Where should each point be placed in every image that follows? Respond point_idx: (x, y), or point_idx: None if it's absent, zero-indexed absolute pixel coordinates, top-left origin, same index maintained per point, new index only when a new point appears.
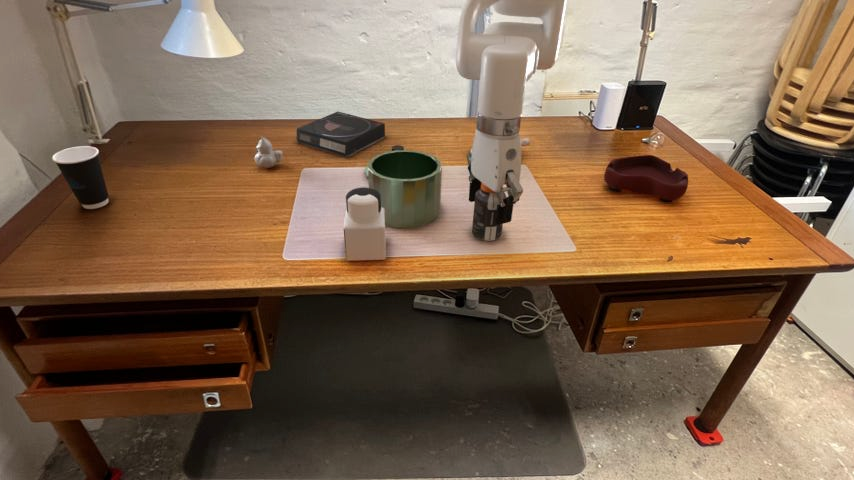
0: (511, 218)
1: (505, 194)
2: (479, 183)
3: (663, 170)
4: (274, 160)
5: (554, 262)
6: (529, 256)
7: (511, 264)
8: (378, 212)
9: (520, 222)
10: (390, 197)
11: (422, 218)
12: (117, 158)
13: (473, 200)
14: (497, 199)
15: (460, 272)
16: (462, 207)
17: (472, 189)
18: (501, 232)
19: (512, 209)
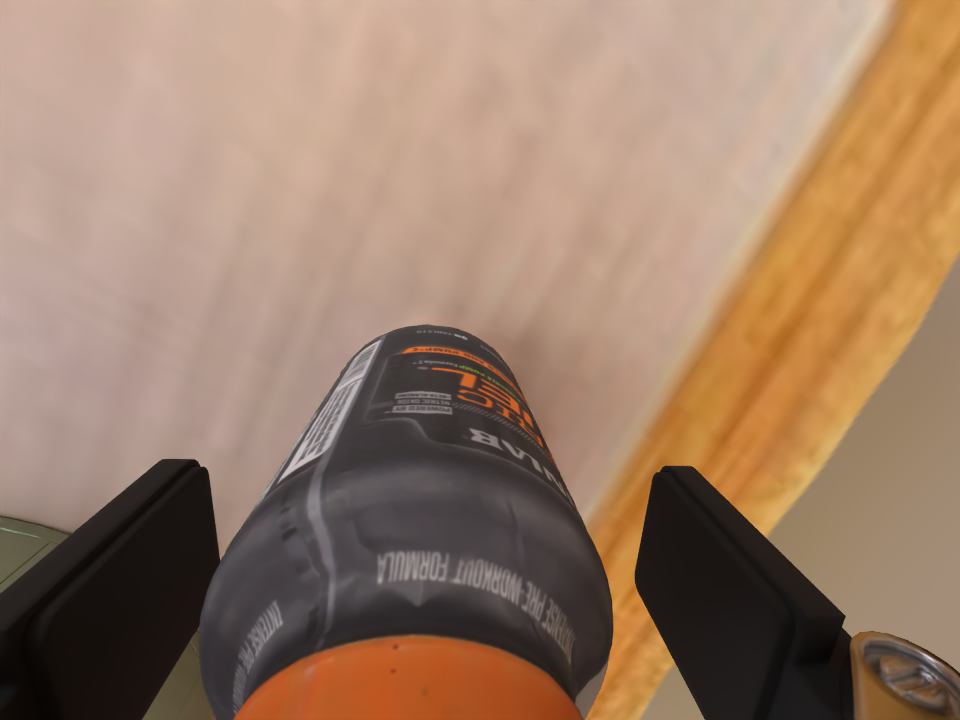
0: (702, 476)
1: (516, 514)
2: (65, 712)
3: None
4: None
5: (871, 233)
6: (743, 325)
7: (734, 451)
8: None
9: (399, 102)
10: None
11: (186, 717)
12: None
13: (214, 571)
14: (599, 685)
15: (643, 659)
16: (36, 375)
17: (138, 717)
18: (507, 368)
19: (767, 543)
